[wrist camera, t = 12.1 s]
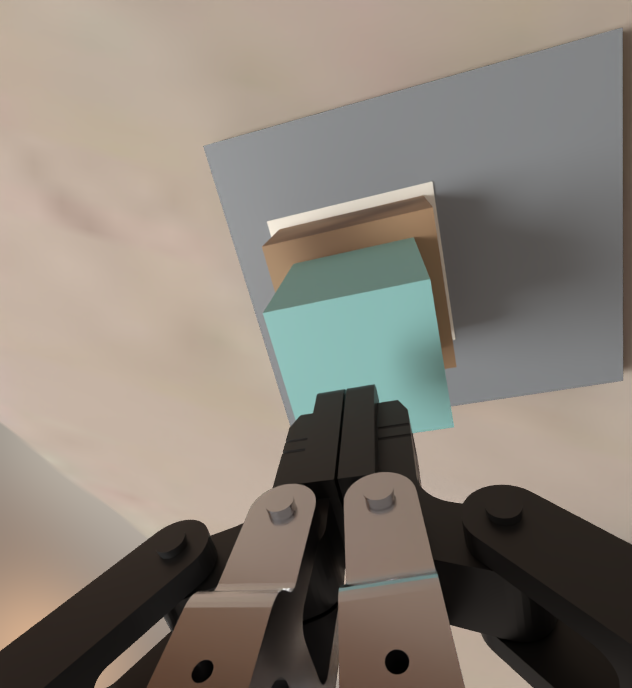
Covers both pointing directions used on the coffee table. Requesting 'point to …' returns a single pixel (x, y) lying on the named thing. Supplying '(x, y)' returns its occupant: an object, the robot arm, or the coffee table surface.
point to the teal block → (362, 331)
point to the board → (470, 207)
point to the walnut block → (366, 232)
